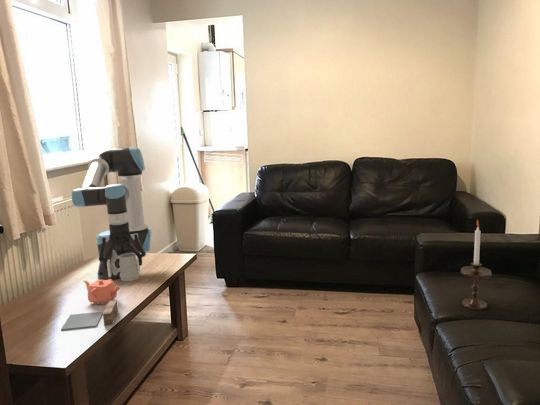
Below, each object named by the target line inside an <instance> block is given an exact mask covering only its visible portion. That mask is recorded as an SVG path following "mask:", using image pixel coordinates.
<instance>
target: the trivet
mask: <svg viewBox="0 0 540 405" xmlns="http://www.w3.org/2000/svg"><path fill="white" fill-rule="evenodd" d="M103 313H104V311H103V310H102V311H101V310H100V311H93V312H85V313H75V314H74V313H73V314H70V315H69V316H68V318H67V319H66V321H65V323H64V324H63V325H62V327H61V329H60V331H63V332H64V331H71V330H80V329H81V330H82V329H89V328H96V327H97V326H98V325H99V323H100V321H101V319H102V317H103Z"/></svg>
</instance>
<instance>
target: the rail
mask: <svg viewBox="0 0 540 405" xmlns="http://www.w3.org/2000/svg"><path fill="white" fill-rule="evenodd" d="M118 312H119V307H118V300H117V299H114V300H111V301H109V302H108V303H107V305H106V306H105V309H104V311H103V314H102V317H103V318H102V319H103V326H104V327H107V326H113V324H114V322H115V320H116V317H117V315H118Z"/></svg>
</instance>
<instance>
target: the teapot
mask: <svg viewBox="0 0 540 405" xmlns="http://www.w3.org/2000/svg"><path fill="white" fill-rule="evenodd" d="M83 283H85V286H86V290H87V300H88V302H89V303H92V305H94V306H96V305H98V304H102V306H107V305H108V303H109V301H111V300H115V298H117V296H118V292H119V290H120V289H121V287H120V286H118V285H115V282H114V281H113V280H112V279H109V280H101V279H98V280H96V281H93V282H91V283H90V282H89V281H88V280H83Z"/></svg>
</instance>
